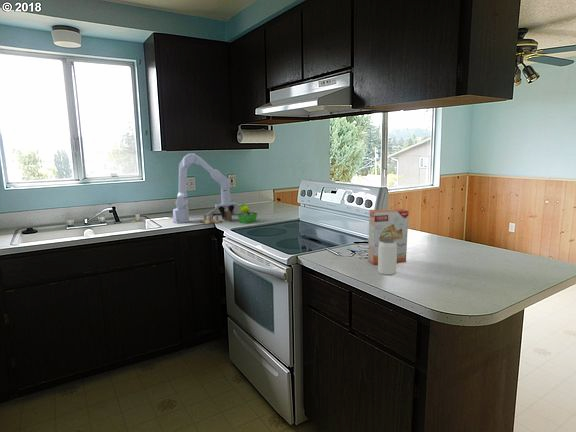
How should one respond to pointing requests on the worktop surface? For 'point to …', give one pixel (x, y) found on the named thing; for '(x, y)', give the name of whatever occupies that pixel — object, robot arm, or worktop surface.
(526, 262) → the worktop surface
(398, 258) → the cracker box
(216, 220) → the beige irregular piece
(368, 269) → the worktop surface
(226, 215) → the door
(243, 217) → the fruit basket
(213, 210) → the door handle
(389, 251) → the can
